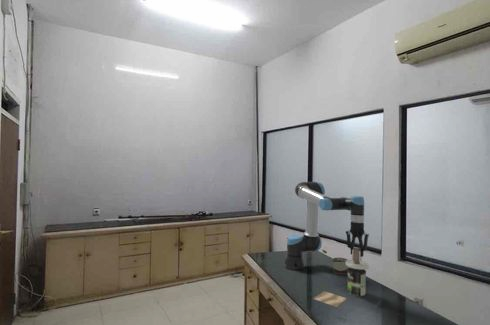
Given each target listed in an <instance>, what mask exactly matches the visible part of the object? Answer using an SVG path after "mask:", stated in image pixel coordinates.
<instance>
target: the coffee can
mask: <svg viewBox="0 0 490 325" xmlns="http://www.w3.org/2000/svg"><path fill="white" fill-rule="evenodd" d="M366 278H367V270H366V269H363V270H361V269H353V268H350V267H348V274H347V293H348V294H349V295H352V296H353V297H364V296H366V283H367V282H366V280H367V279H366Z"/></svg>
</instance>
